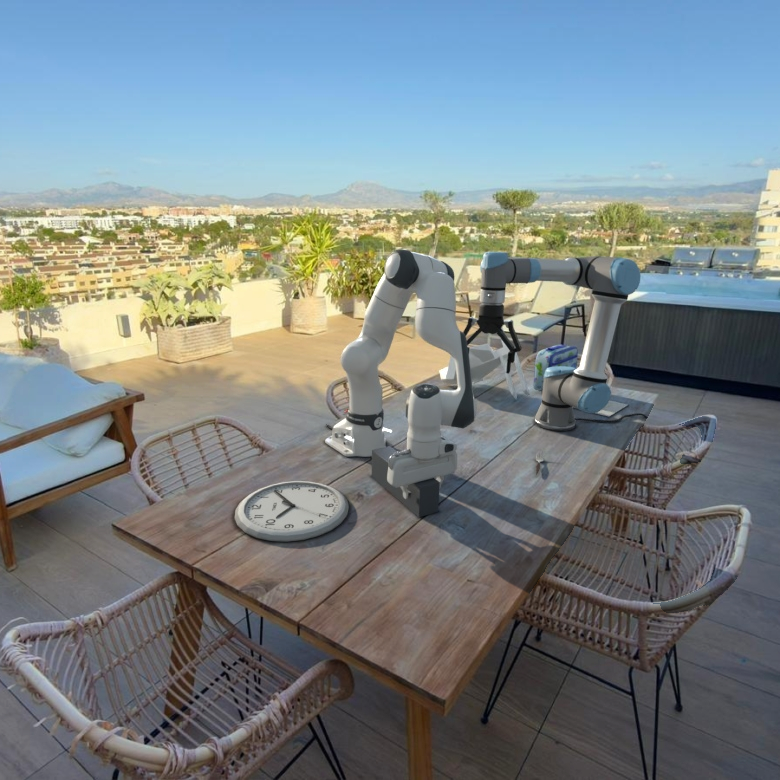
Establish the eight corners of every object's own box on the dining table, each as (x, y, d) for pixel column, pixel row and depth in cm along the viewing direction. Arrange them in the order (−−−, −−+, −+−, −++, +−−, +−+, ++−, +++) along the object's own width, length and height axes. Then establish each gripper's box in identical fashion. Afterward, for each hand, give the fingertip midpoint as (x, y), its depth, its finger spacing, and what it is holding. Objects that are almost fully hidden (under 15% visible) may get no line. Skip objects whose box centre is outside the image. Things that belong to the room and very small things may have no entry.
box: (371, 476, 160) (371, 449, 157) (389, 472, 163) (389, 446, 160) (418, 517, 138) (420, 487, 135) (438, 511, 141) (439, 482, 138)
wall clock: (349, 533, 127) (222, 537, 124) (349, 539, 127) (223, 543, 125) (348, 477, 155) (245, 479, 153) (348, 481, 156) (245, 484, 153)
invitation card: (608, 416, 214) (573, 407, 224) (608, 416, 214) (573, 408, 224) (628, 404, 229) (594, 396, 238) (628, 405, 229) (594, 397, 238)
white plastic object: (461, 429, 252) (437, 405, 227) (444, 352, 274) (420, 323, 250) (535, 404, 240) (518, 377, 215) (510, 326, 262) (492, 293, 237)
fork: (531, 475, 162) (532, 469, 161) (536, 455, 176) (537, 450, 175) (540, 476, 161) (541, 471, 160) (544, 456, 175) (545, 451, 175)
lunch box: (550, 397, 237) (555, 352, 231) (529, 391, 245) (533, 348, 238) (577, 386, 255) (582, 344, 249) (556, 381, 262) (561, 340, 256)
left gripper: (395, 458, 129) (394, 508, 133) (461, 443, 139) (458, 490, 143) (383, 449, 134) (382, 497, 138) (447, 435, 144) (445, 480, 148)
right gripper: (449, 302, 162) (446, 368, 169) (531, 308, 154) (524, 377, 160) (455, 299, 169) (452, 363, 175) (534, 304, 160) (528, 371, 167)
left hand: (421, 493), depth 141 cm, fingers open, 8 cm apart
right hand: (486, 370), depth 168 cm, fingers open, 13 cm apart
